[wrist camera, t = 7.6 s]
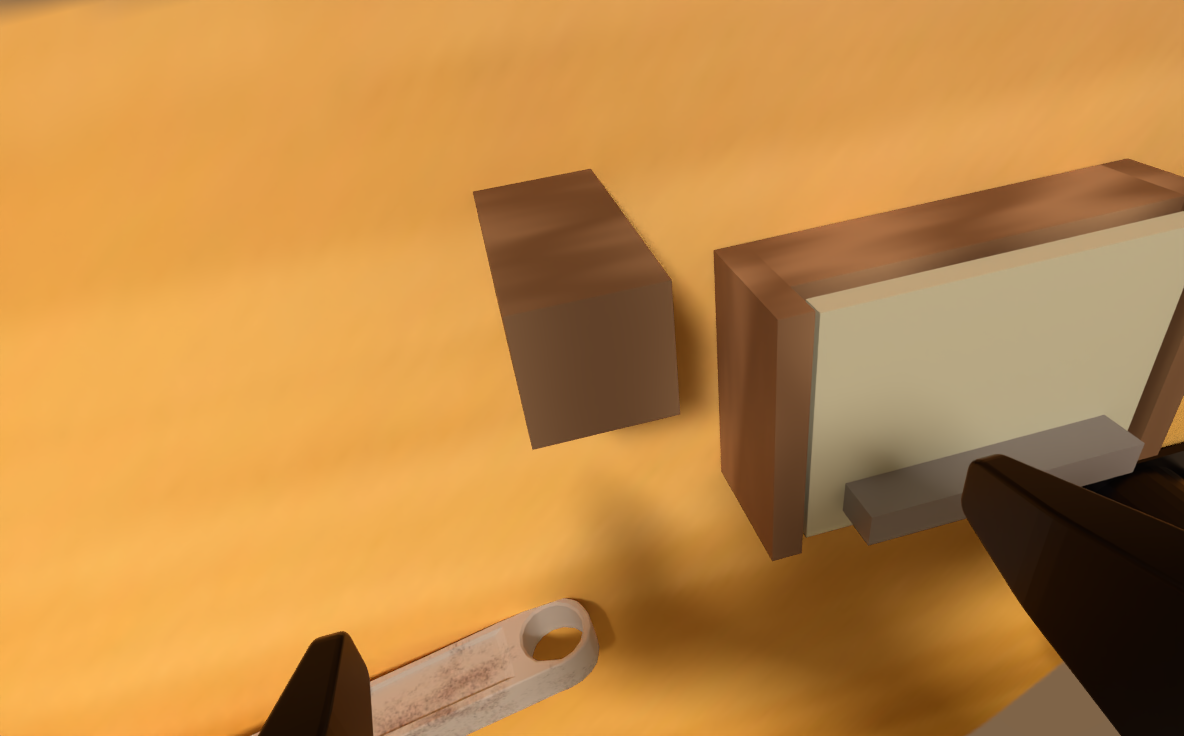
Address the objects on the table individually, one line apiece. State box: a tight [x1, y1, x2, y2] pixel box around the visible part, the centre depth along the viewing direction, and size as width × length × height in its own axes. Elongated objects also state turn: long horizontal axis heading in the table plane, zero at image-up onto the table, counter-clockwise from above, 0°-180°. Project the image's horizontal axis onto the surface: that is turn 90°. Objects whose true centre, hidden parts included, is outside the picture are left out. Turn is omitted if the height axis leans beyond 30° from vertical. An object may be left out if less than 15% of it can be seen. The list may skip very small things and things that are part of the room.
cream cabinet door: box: [803, 211, 1184, 545], centre depth 21 cm, size 11×8×2 cm
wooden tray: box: [714, 159, 1184, 561], centre depth 22 cm, size 14×9×4 cm, turn 98°
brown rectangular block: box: [473, 169, 680, 450], centre depth 17 cm, size 3×3×7 cm
